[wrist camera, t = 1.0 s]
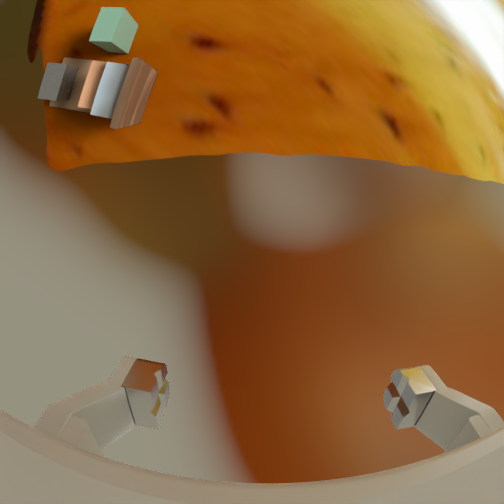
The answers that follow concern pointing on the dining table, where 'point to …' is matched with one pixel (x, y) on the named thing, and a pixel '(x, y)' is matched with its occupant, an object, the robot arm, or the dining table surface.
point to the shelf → (126, 96)
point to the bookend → (58, 82)
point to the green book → (114, 30)
